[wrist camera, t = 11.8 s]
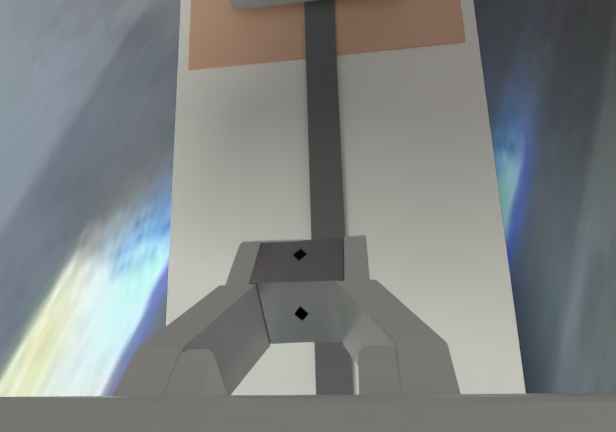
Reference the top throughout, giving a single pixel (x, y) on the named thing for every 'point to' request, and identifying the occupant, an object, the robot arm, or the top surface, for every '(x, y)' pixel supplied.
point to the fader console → (345, 170)
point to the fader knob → (260, 3)
